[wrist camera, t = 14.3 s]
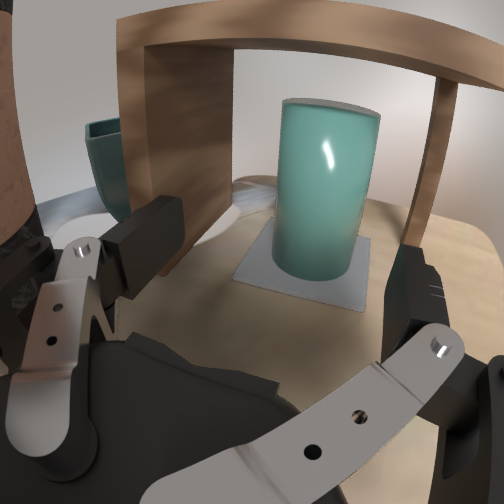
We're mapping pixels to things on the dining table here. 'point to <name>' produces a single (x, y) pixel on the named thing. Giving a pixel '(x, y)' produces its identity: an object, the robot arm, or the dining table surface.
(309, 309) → the dining table surface
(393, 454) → the dining table surface
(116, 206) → the flower pot
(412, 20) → the brown wooden shelf stand
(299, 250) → the teal glossy cylinder
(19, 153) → the travel mug
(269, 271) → the mat
